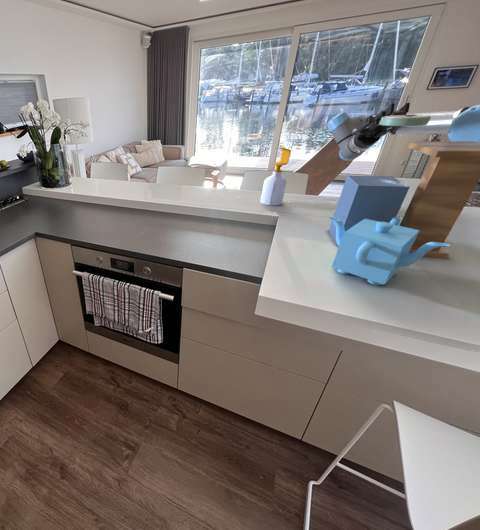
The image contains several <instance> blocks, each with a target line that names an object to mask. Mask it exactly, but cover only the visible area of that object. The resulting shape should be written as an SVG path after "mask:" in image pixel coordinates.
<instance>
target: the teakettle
mask: <svg viewBox="0 0 480 530" xmlns="http://www.w3.org/2000/svg"><path fill="white" fill-rule="evenodd" d="M328 219H329V220H330V221H331V222H332V221H333V222H334V224H335V226H336V241H337V244H338V247H337V250H336V253H335V257H334V259H333V262H332V263H331V264H332V265H331V268H333V269H336V270H337V272H338V273H340V274H343V275H354V276H356V277H360V278H363V279H365V280H367V282H368V283H369V284H371V285H374V286H382V285H385V284H387V282H389V280H391V278H392V277H393V276H395V274H396V273H397V272H398V271H399V270H400V269H401V267H402V268H403V267H408V266H411V265H414V264H415V263H417V262H418V261H419V260H421V259H422V258H423V257H425V256H424V255H425V254H426V253H427V252H429V251H430V250H432V249H434V248H438V247H442V248H444V247H451V244H449V243H445V242H444V243H440V242H429V243H426V244H424V245H422V246H421V247H420V248H419V249H417V250H416V251H415V252H412V253H409V251H410V249H411V247H412V245H413V243H414V241H415V239H416V237H417V235H418V233H419V230H416V229H411V228H407V227H402V226H399V225H400V223H401V221H402V217H401V216H396V217H394V218H393V219H392V220H391V221H390V223H387V222H379V221H374V220H369V219H364V220H362V221H360V222H359V223H357V224H356V225H354V226H353V227H351V228H350V229H349V230H347V231H346V232H345V228H344V224H343V222H342V221H341V220H339V219H336V218H333V217H328Z"/></svg>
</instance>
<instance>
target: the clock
mask: <svg viewBox="0 0 480 530" xmlns="http://www.w3.org/2000/svg"><path fill="white" fill-rule="evenodd" d="M385 110H386V109H381V110H380V112H382V111H385ZM380 112H379V113H380ZM405 113H406V112H404V111H398V110H395V109H394V112H393V113H392V114H391V115H390V116H384V117H382V118H381V121H380V125H386V126H420V125H427V124H428V123H429V120H430V118H431V116H426V115H405ZM406 114H407V113H406Z"/></svg>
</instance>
